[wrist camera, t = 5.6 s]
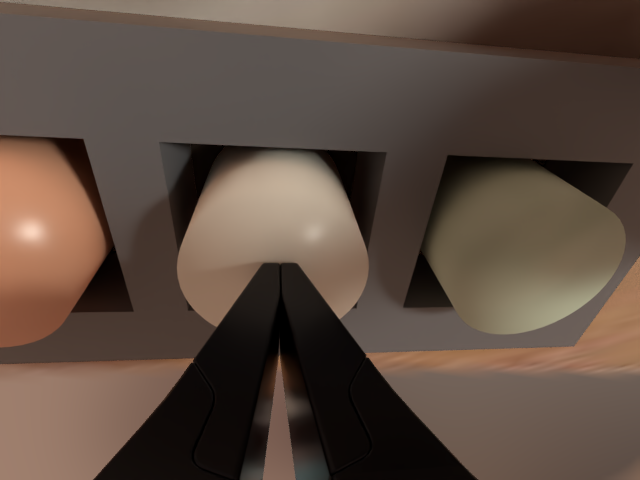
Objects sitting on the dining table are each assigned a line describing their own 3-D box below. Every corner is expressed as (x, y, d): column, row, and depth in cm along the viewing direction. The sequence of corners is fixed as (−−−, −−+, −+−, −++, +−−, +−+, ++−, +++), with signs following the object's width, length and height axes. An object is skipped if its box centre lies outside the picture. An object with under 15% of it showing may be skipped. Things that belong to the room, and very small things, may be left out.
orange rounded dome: (115, 119, 10) (29, 186, 7) (145, 248, 13) (94, 345, 9) (-63, 110, 10) (-262, 177, 6) (5, 246, 12) (-106, 350, 9)
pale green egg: (549, 142, 12) (663, 203, 9) (500, 250, 15) (572, 332, 11) (421, 135, 12) (487, 198, 8) (393, 249, 14) (434, 336, 11)
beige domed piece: (349, 132, 11) (384, 196, 8) (334, 249, 14) (355, 338, 10) (200, 124, 11) (161, 189, 7) (213, 248, 13) (189, 342, 10)
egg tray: (660, 60, 11) (768, 79, 9) (530, 295, 17) (574, 346, 14) (-252, -21, 8) (-484, -28, 6) (-41, 300, 14) (-110, 367, 11)
